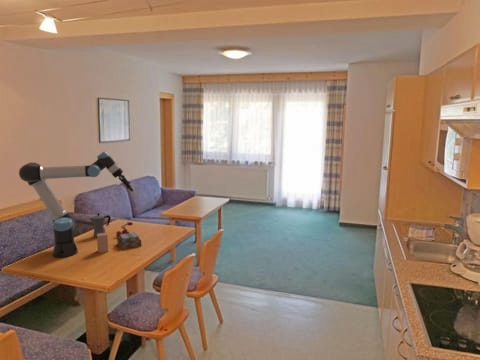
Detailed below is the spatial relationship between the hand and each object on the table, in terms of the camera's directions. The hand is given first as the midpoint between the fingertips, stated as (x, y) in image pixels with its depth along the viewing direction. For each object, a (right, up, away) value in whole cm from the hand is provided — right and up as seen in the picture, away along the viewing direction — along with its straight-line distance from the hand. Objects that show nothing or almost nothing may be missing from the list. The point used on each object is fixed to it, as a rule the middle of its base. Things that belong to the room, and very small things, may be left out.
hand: (134, 192), depth 267 cm
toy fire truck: (-13, -34, +16) cm, 40 cm away
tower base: (-2, -37, -6) cm, 38 cm away
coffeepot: (-31, -34, +17) cm, 49 cm away
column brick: (-16, -39, -19) cm, 47 cm away
